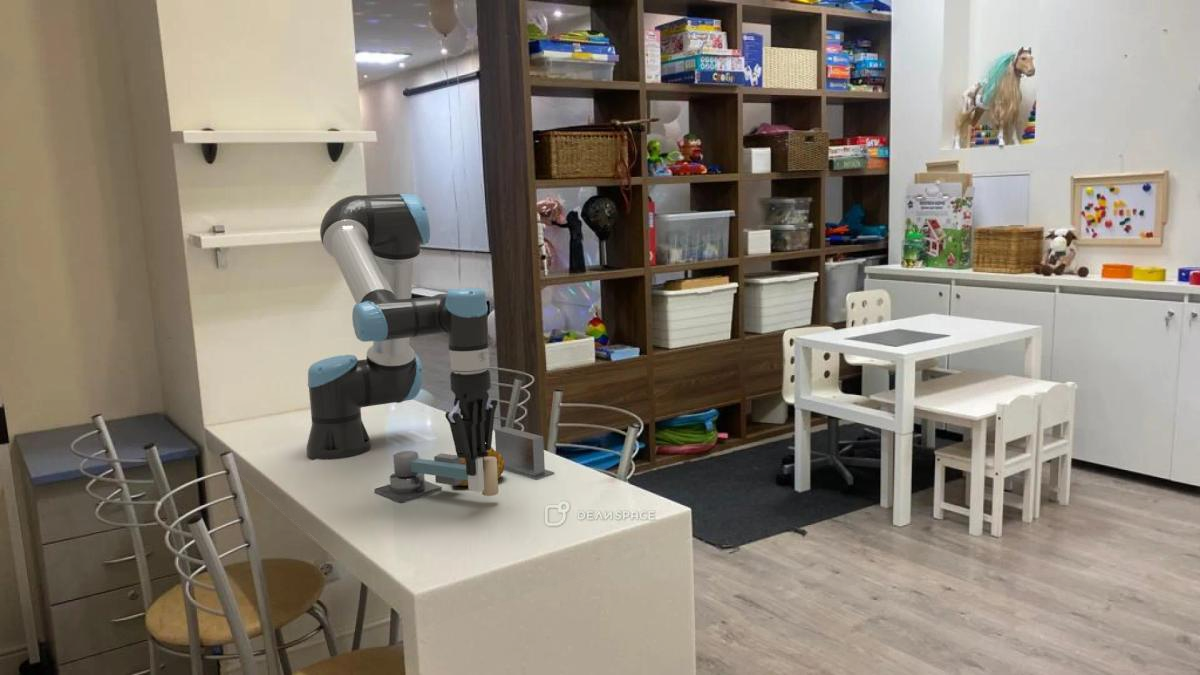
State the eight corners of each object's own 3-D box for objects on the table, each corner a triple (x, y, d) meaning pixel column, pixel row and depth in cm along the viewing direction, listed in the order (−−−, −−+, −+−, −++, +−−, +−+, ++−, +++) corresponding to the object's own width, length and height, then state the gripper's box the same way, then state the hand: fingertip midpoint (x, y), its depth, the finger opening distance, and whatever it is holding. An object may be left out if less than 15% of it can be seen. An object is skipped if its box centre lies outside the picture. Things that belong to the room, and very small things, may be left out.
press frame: (374, 492, 185) (371, 450, 184) (494, 457, 207) (492, 420, 206) (431, 516, 170) (428, 471, 169) (554, 475, 192) (552, 435, 191)
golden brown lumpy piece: (483, 506, 185) (444, 480, 183) (477, 501, 193) (439, 475, 191) (513, 462, 187) (475, 435, 185) (506, 458, 195) (469, 432, 193)
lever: (390, 482, 184) (387, 449, 183) (409, 473, 189) (407, 441, 188) (489, 498, 172) (487, 463, 171) (507, 489, 177) (505, 454, 176)
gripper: (463, 378, 160) (469, 503, 164) (506, 365, 171) (512, 482, 175) (431, 375, 164) (439, 497, 168) (476, 362, 175) (482, 477, 179)
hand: (476, 489), depth 171 cm, fingers closed
